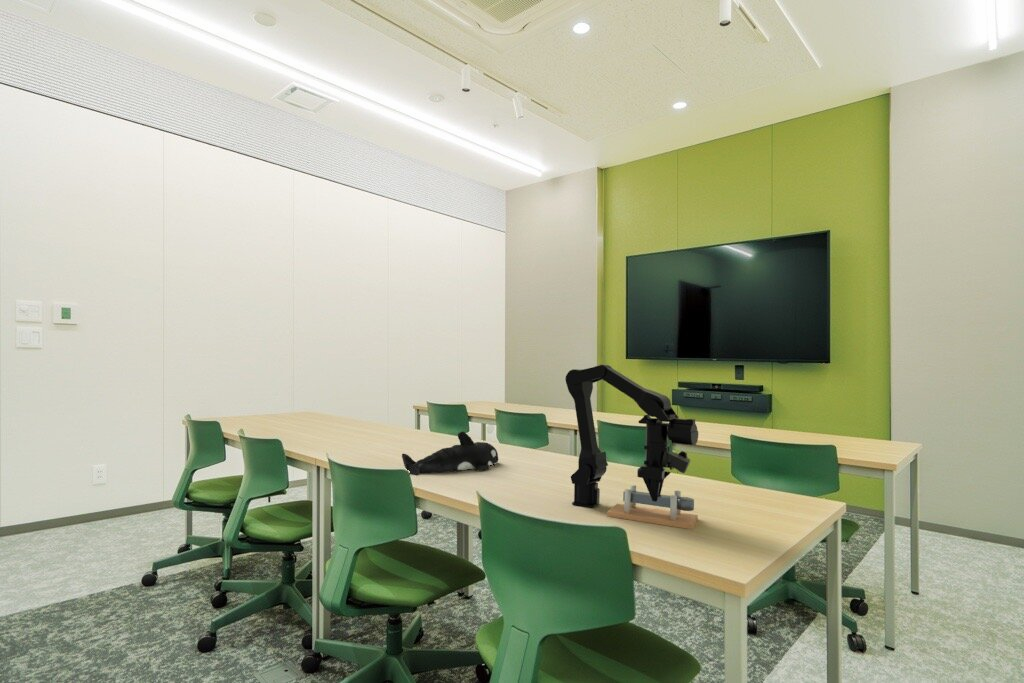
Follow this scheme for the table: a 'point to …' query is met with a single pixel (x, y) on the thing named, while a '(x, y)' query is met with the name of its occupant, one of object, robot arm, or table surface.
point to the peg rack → (653, 512)
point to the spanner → (661, 500)
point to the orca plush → (455, 457)
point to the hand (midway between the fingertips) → (655, 499)
